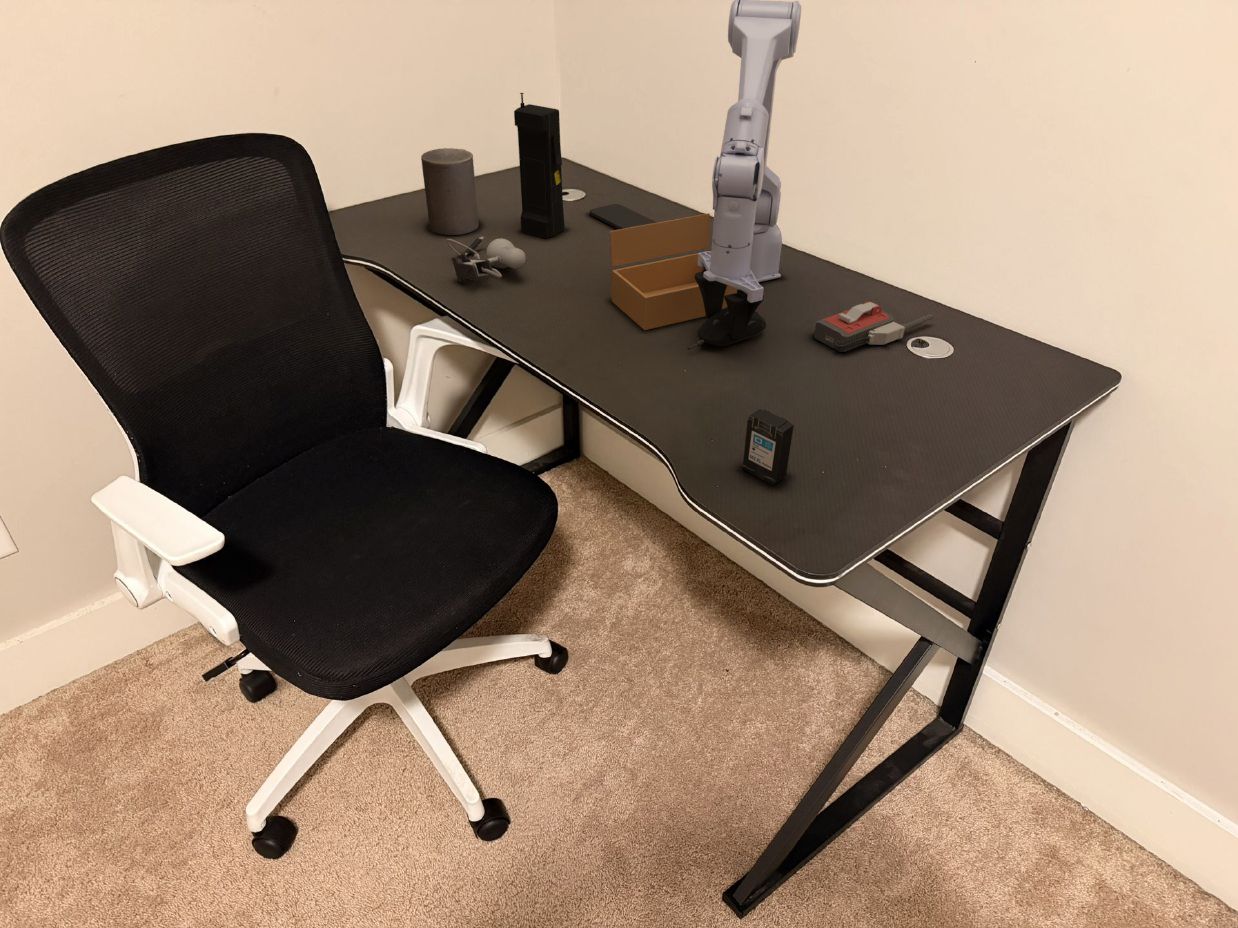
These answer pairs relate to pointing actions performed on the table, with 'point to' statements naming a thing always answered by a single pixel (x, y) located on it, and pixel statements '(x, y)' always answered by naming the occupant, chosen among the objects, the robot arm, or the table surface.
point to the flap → (659, 239)
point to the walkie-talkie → (861, 327)
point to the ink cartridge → (767, 446)
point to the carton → (661, 291)
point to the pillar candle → (450, 191)
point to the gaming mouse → (726, 329)
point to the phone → (620, 216)
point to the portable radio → (540, 169)
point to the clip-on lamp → (497, 253)
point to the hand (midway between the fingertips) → (724, 326)
